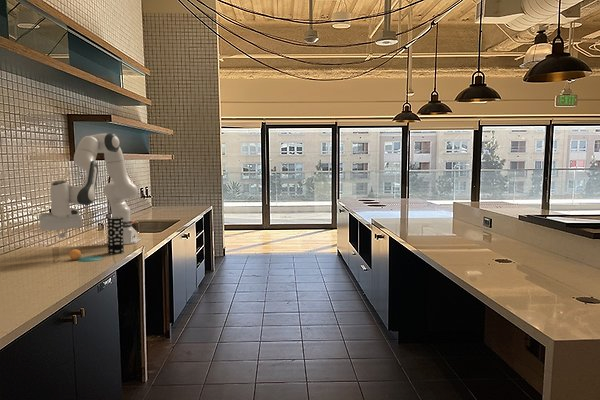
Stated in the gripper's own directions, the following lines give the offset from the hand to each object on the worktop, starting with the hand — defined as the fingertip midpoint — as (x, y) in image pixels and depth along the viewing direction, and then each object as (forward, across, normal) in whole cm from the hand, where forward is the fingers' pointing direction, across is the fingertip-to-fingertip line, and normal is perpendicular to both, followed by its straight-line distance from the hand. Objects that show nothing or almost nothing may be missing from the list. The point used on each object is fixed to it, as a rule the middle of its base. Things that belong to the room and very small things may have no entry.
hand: (62, 237), depth 237 cm
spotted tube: (+12, +27, -2) cm, 29 cm away
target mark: (+11, +11, -11) cm, 19 cm away
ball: (+8, +4, -9) cm, 13 cm away
